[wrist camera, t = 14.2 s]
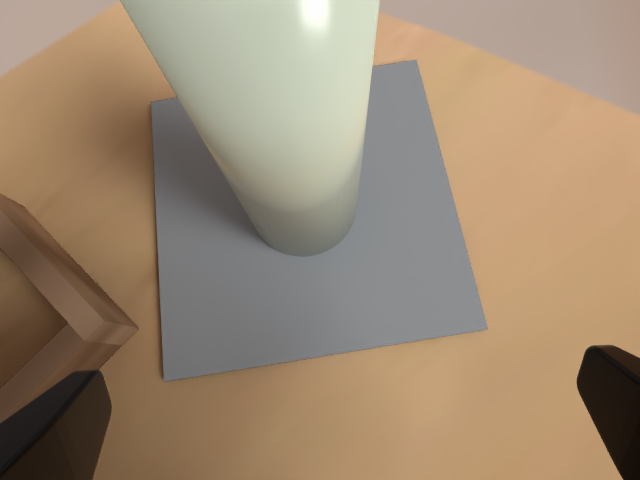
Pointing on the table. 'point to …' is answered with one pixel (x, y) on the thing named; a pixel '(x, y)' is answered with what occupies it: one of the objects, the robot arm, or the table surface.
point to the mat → (318, 270)
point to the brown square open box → (68, 299)
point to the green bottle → (274, 103)
